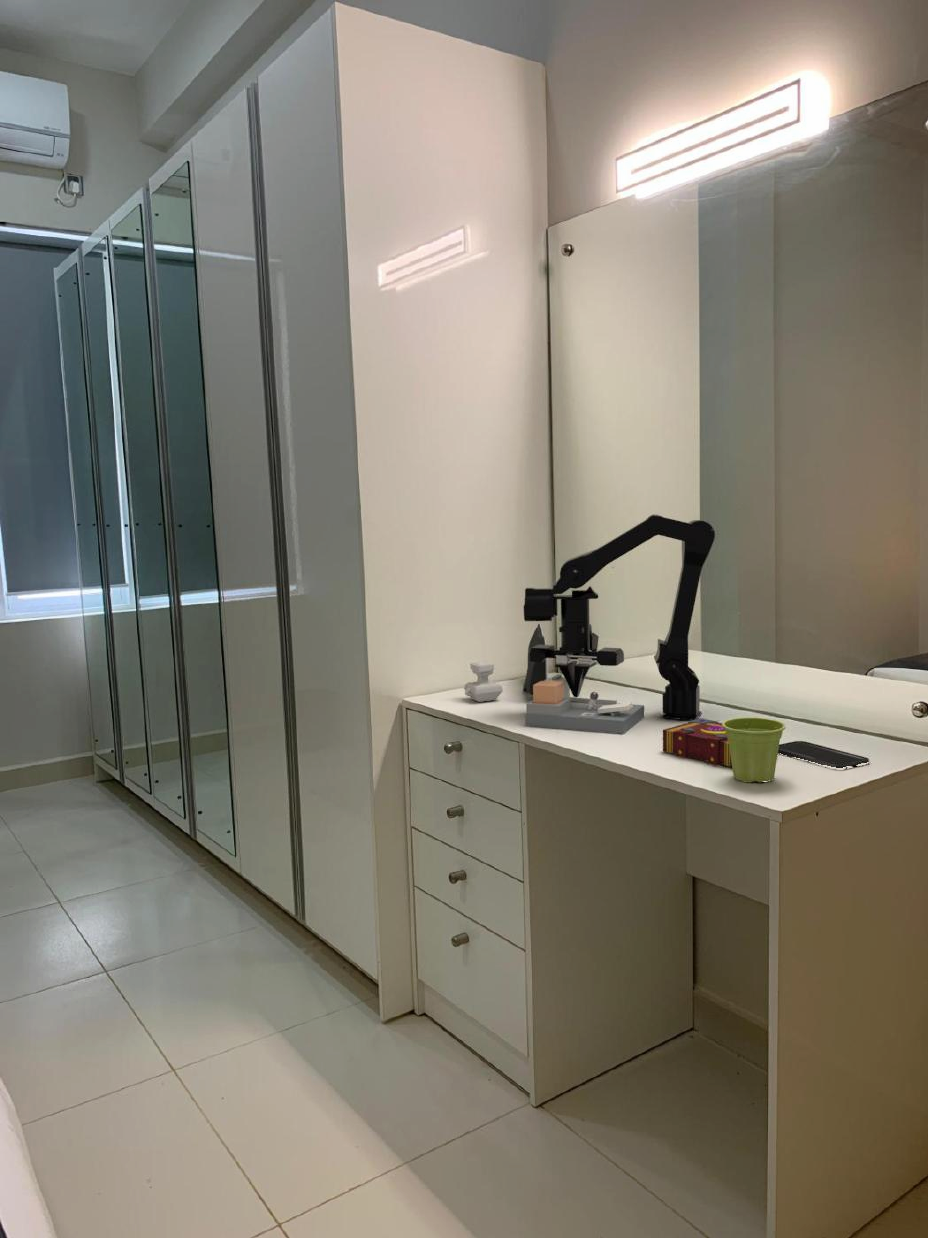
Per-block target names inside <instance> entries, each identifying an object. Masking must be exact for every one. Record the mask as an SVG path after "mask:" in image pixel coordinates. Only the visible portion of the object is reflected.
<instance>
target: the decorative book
mask: <svg viewBox="0 0 928 1238" xmlns="http://www.w3.org/2000/svg"><path fill="white" fill-rule="evenodd" d="M722 723H723V722H722ZM722 723H721V722H719V721H717V720H712V719H707V718H703V717H700V718H699V717H698V718H697V719H696V720H688V721H687V723H682V724H680V725H676V726H671V727H668V728H664V729H662V752H666V753H670V754H674V755H675V757H678V758H679V757H680V758H683V759H687V758H690V759H691V758H692V759H695V760H700V761H704V762H707V764H709V765H714V766H717V765H719V766H726V767H731V768H732V762H731V755H730V749H729V742H728V737H727V736H726V732H725V728H723V726H722Z"/></svg>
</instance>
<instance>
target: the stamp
mask: <svg viewBox="0 0 928 1238" xmlns="http://www.w3.org/2000/svg"><path fill="white" fill-rule="evenodd" d="M469 665H470V669H471V670H472V674H474V675H476V677H477V680H476V681H472V682H471V681H470V682H466V683H465V684H464V688H463V689H464V695H465V696H466V697H470V699H472V700H474V701H476V702H479V703H485V702H484V701H487V702H493V701H496V700H498V698H499V697H500V695H501V694H502V692H504V690H503V687H502V685H501V684H500V683H497V682H494V681H492V680H490V679H489V677H490V676H491V675H493V674H494V670H495V664H493V663H492V662H491V663H489V662H487V661H481V662H480V661H479V662H472V663H470V664H469ZM492 700H493V701H492Z"/></svg>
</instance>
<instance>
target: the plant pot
mask: <svg viewBox="0 0 928 1238" xmlns="http://www.w3.org/2000/svg"><path fill="white" fill-rule="evenodd" d="M722 726H723V728H725V732H726V736H727V737H728V742H729V749H730V755H731V762H732V767H731V768H732V775H733V777H734V779H736V780H737V781H740V780H741V781H740V782H743V781H746V782H745V783H747V782H749V783H753V782H758V783H760V782H763V781H769V780H772V781H773V780H774V779H775V774H776V769H777V768H776V767H777V761H778V755H779V754H778V748H779V744H780V742H781V741H780V740H781V739H782V735H783V731H784V730H785V729H786V723H784V722H782V721H779V720H776V719H772V718H771V719H770V718H765V717H735V718H730V719H726V720H724V721H723V722H722ZM769 782H770V781H769Z"/></svg>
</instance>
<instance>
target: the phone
mask: <svg viewBox="0 0 928 1238" xmlns="http://www.w3.org/2000/svg"><path fill="white" fill-rule="evenodd" d="M778 753H781V754H783V755H782V756H784V755H787V756H786V757H788V756H790V757H789V758H791V757H796V758H800V759H804V760H808V761H811V762H815V763H818V764H821V765H827V766H831V767H836V768H843V767H846V766H851V765H852V766H856V765H858V764H861V763H867V762H869V763H870V759H869V757H867V756H866V757H865V756H861V755H858V754H855V753H850V752H847V751H842V750H838V749H835V748H832V747H827V746H823V745H820V744H817V743H816V744H815V743H812V742H808V741H806V740H805V741H803V740H794V741H790V742H785V743H781V744H780V743H779V748H778ZM781 754H780V755H781ZM846 768H847V767H846Z"/></svg>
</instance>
